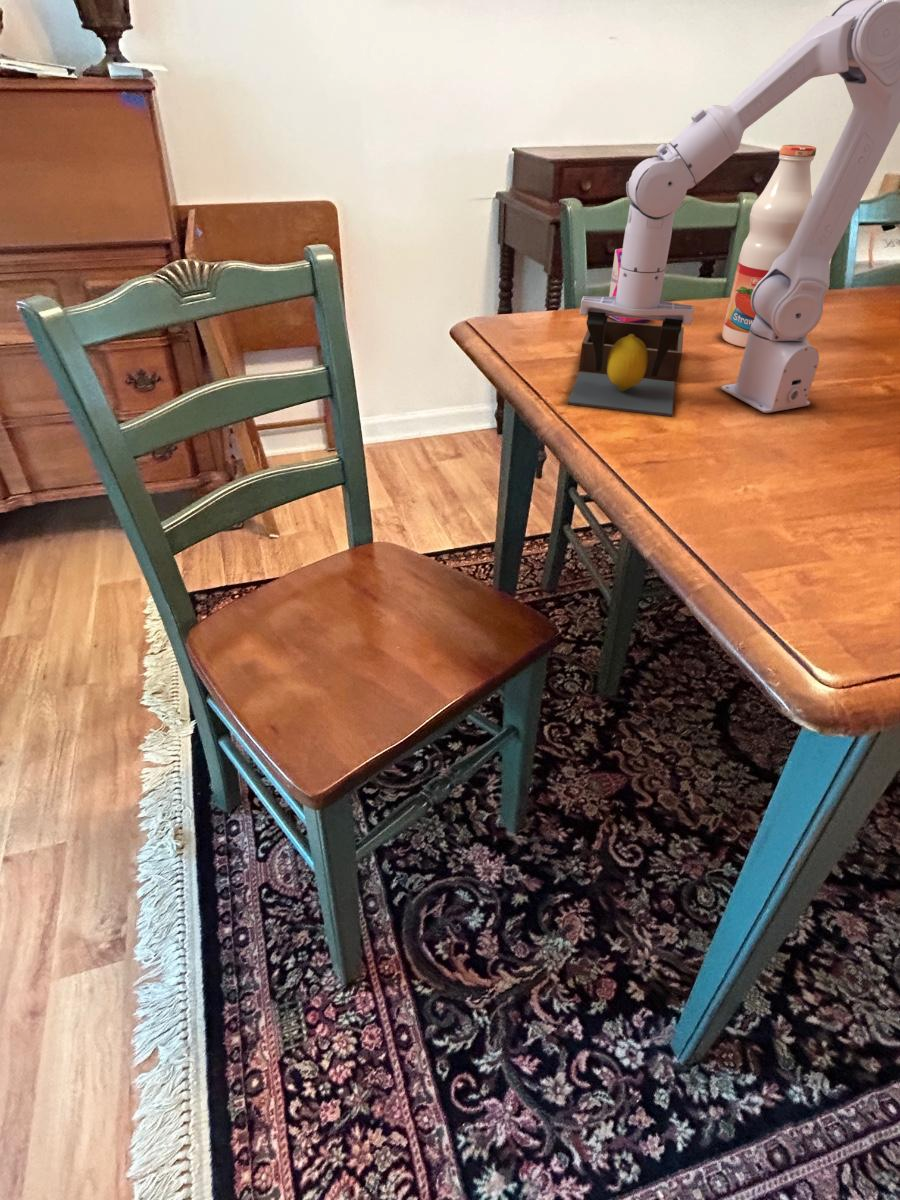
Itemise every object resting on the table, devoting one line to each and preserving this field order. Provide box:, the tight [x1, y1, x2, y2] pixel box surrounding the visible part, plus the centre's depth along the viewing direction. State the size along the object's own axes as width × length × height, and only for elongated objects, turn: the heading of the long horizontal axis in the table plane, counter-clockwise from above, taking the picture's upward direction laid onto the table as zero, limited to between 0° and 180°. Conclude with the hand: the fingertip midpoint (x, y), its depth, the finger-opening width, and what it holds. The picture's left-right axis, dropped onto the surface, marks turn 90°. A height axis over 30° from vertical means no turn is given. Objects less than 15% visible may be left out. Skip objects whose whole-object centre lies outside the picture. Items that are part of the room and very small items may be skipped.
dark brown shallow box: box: [578, 319, 685, 383], centre depth 114 cm, size 14×12×4 cm
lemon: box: [607, 334, 648, 391], centre depth 103 cm, size 6×6×8 cm
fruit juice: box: [721, 144, 817, 348], centre depth 116 cm, size 9×9×28 cm
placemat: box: [567, 371, 676, 417], centre depth 105 cm, size 14×12×1 cm
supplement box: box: [608, 247, 651, 324], centre depth 130 cm, size 6×6×12 cm
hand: (626, 371), depth 103 cm, fingers open, 7 cm apart
